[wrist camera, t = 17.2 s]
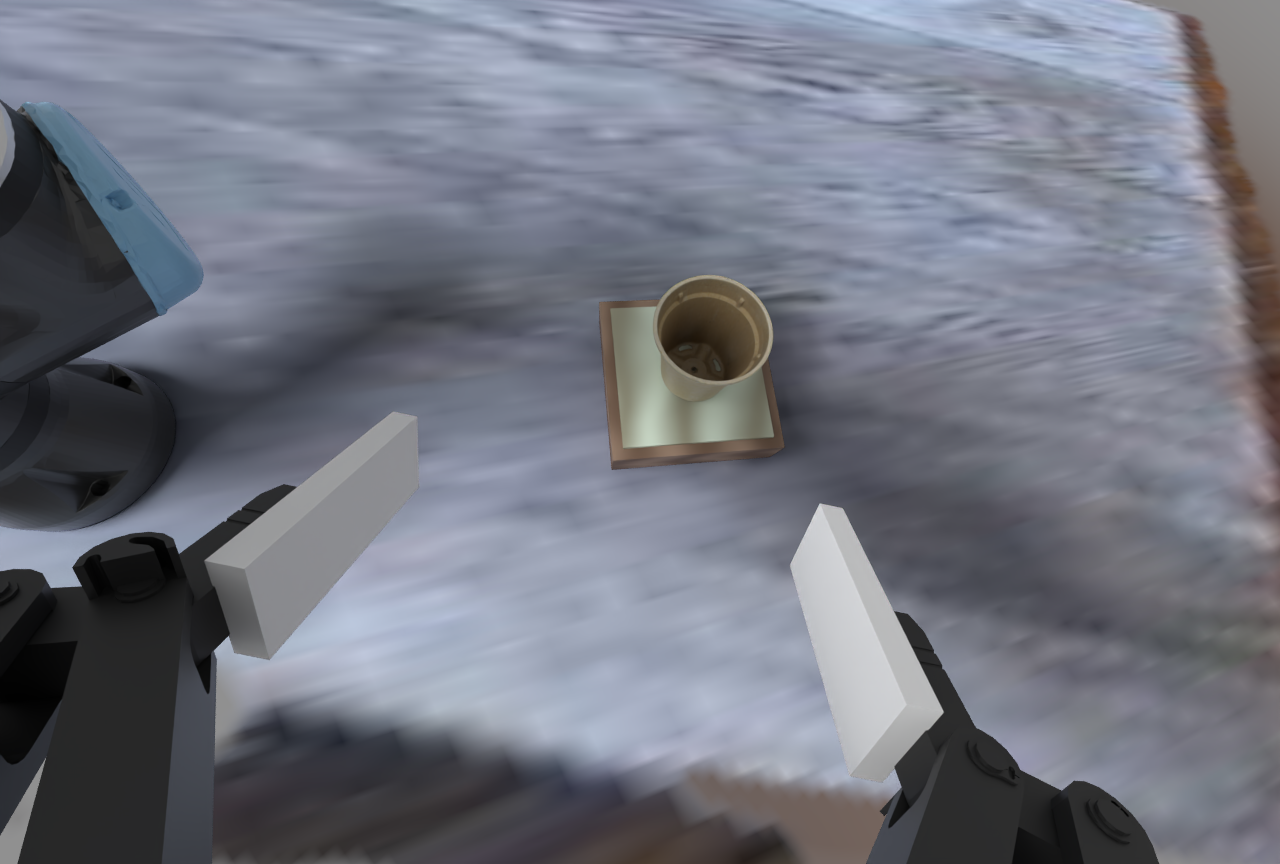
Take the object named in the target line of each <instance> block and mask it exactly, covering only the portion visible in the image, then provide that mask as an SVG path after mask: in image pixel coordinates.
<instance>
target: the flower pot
mask: <svg viewBox="0 0 1280 864" xmlns="http://www.w3.org/2000/svg"><path fill="white" fill-rule="evenodd" d="M653 335H654V339H655V343H656V346H657V348H658V350H659V352H660V354H661V375H662V379H663V381H664V383H665V385H666V387H667V388H668V389H669V390H670V391H671V392H672V393H673V394H675V395H677V396H678V397H680V398H682V399H684V400H687V401H692V402H698V401H704V400H707V399H710V398H712V397H713V396H715V395H716V394H717V393H718V392H719V391H721V390H722V389H723V388H724V387H726V386H727V385H732V384H735V383H739V382H741V381H743V380H745V379H747V378H749V377H750V376H752V375H753V374H754V373H756V372H757V371H758V370H759V369H760V368H761V367H762V365H763V364H764V363H765V361H766V360H767V358H768V356H769V354H770V351H771V348H772V343H773V329H772V323H771V319H770V316H769V314H768V312H767V310H766V308H765V306H764V305H763V303H762V302H761V300H760V299H759V298H758V297H757V296H756V295H755V294H754V293H753V292H752V291H751V290H749V289H748V288H747V287H745V286H744V285H743V284H741V283H739V282H737V281H734V280H732V279H729V278H726V277H723V276H716V275H702V276H695V277H692V278H688V279H686V280H683V281H681V282H679V283H677V284H676V285H674V286H673V287H672V288H670V289H669V290H668V291H667V292H666V293H665V294H664V295H663V297H662V298H661V300H660V301H659V303H658V305H657V307H656V310H655V313H654V318H653ZM685 345H689V346H691V348H688V349H684V350H681V351H680V350H679V348H680V347H682V346H685ZM714 359H716V361H717V362H718V364H719V366H720V369H721V370H720V371H717V370H716V366H715V363H714V361H713V360H714ZM693 367H694V368H696V371H693V370H692V368H693Z"/></svg>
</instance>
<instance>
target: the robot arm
mask: <svg viewBox="0 0 1280 864" xmlns="http://www.w3.org/2000/svg"><path fill="white" fill-rule="evenodd" d="M203 275H204V274H203V269H202V266H201V264H200V262H199V260H198V259H197V257H196V255H195V254H194V252H193V251H192V250H191V248H190V247H189V245H188V244H187V243H186V241H185V240H184V239H183V237H182V236H181V235H180V233H179V232H178V231H177V230H176V228H175V227H174V226H173V225H172V223H171V222H170V221H169V220H168V219H167V217H166V216H165V215H164V214H163V212H162V211H161V210H160V209H159V208H158V206H157V205H156V204H155V203H154V202H153V201H152V199H151V198H150V197H149V196H148V195H147V194H146V192H145V191H144V190H143V189H142V188H141V187H140V185H139V184H138V183H137V182H136V181H135V180H134V179H133V178H132V176H131V175H130V174H129V173H128V172H127V171H126V170H125V169H124V168H123V166H122V165H121V164H120V163H119V162H118V161H117V160H116V159H115V158H114V157H113V155H112V154H111V153H110V152H109V151H108V150H107V149H106V148H105V147H104V146H103V145H102V144H101V143H100V142H99V141H98V140H97V139H96V138H95V137H94V136H93V135H92V134H91V133H90V132H89V131H88V130H87V129H86V128H85V127H84V126H83V125H82V124H81V123H80V122H79V121H78V120H77V119H76V118H75V117H73V116H72V115H71V114H70V113H68V112H67V111H65V110H64V109H62V108H61V107H60V106H58V105H56V104H53V103H51V102H40V103H36V104H34V103H30V102H25V103H24V104H22V106H21V107H20V108H19V109H18V110H17V111H15V110H13V109H12V108H11V107H9V106H8V105H7V104H5V103H4V102H3V101H1V100H0V526H2V527H7V528H12V529H21V530H35V531H67V530H73V529H78V528H83V527H86V526H89V525H93V524H95V523H98V522H100V521H103V520H105V519H107V518H109V517H111V516H113V515H115V514H117V513H118V512H120V511H122V510H123V509H125V508H126V507H128V506H129V505H130V504H132V503H133V502H134V501H135V500H137V499H138V498H139V497H140V496H141V495H142V494H143V493H144V492H145V491H146V490H147V489H148V488H149V487H150V486H151V485H152V484H153V482H154V481H155V480H156V479H157V477H158V476H159V474H160V473H161V471H162V470H163V468H164V466H165V464H166V463H167V460H168V458H169V456H170V453H171V451H172V447H173V443H174V438H175V417H174V412H173V409H172V406H171V404H170V402H169V400H168V398H167V396H166V395H165V394H164V392H163V391H162V390H161V389H160V388H159V387H158V386H157V385H156V384H155V383H154V382H152V381H151V380H149V379H148V378H146V377H144V376H142V375H140V374H138V373H135V372H133V371H131V370H128V369H126V368H124V367H121V366H119V365H116V364H113V363H110V362H106V361H102V360H96V359H89V358H81V357H80V356H82V355H84V354H86V353H88V352H90V351H91V350H93V349H95V348H97V347H99V346H101V345H103V344H105V343H107V342H109V341H111V340H113V339H115V338H117V337H119V336H121V335H123V334H125V333H127V332H128V331H130V330H132V329H134V328H136V327H138V326H140V325H142V324H144V323H146V322H148V321H150V320H152V319H154V318H156V317H158V316H162V315H164V314H166V312H167V309H169V308H170V307H172V306H174V305H175V304H177V303H178V302H180V301H182V300H183V299H185V298H186V297H188V296H190V295H191V294H193V293H194V292H196V291H197V290H198V288H199V287H200V285H201V284H202V280H203ZM418 488H419V464H418V429H417V416H412V415H407V414H403V413H398V412H394V411H393V412H392V413H390V414H389V415H388V416H387V417H385V418H384V419H383V420H382V421H380V422H379V423H378V424H377V425H375V426H374V427H373V428H371V429H370V430H369V431H368V432H366V433H365V434H364V435H363V436H361V437H360V438H359V439H358V440H356V441H355V442H354V443H352V444H351V445H350V446H349V447H347V448H346V449H345V450H344V451H342V452H341V453H340V454H339V455H337V456H336V457H335V458H334V459H332V460H331V461H330V462H328V463H327V464H326V465H325V466H323V467H322V468H321V469H320V470H318V471H317V472H316V473H315V474H313V475H312V476H311V477H309V478H308V479H307V480H306V481H304V482H303V483H302V484H301V485H299V486H298V487H295V486H290V485H285V484H283V485H281V486H279V487H276V488H274V489H271V490H269V491H267V492H264V493H262V494H260V495H258V496H257V497H256V498H254V499H253V500H252V501H250V502H249V503H248V504H246V505H245V506H244V507H242V510H241V511H240V510H238V511H237V512H235V513H234V514H233V515H231V516H230V517H229V518H227V521H226V522H224V521H223V522H222V523H221V524H219V525H218V526H216V527H215V528H214V529H212V530H211V531H210V532H208V533H207V534H206V535H204V536H203V537H202V538H200V539H199V540H198V541H196V542H195V543H193V544H192V545H191V546H189V547H188V548H187V549H185V550H184V551H183V552H181V553H180V554H179V553H178V551H177V548H176V545H175V542H174V539H173V538H171V537H169V536H167V535H166V534H163V533H154V532H144V533H134V534H128V535H125V536H121V537H117V538H114V539H111V540H108V541H106V542H104V543H102V544H100V545H97V546H95V547H93V548H92V549H90V550H89V551H88V552H86V553H85V554H83V555H82V556H81V557H79V559H78V560H77V562H76V563H75V565H74V566H73V567H72V568H73V570H74V572H75V574H76V576H77V578H78V580H79V582H80V583H81V585H82V587H64V588H50V586H49V584H48V582H47V581H46V579H45V577H44V575H43V574H42V573H40V572H37V571H34V570H31V569H12V570H6V571H0V835H1V833H2V831H3V830H4V828H5V826H6V824H7V823H8V821H9V819H10V818H11V816H12V814H13V813H14V811H15V809H16V807H17V806H18V804H19V802H20V801H21V799H22V797H23V796H24V794H25V792H26V790H27V789H28V787H29V785H30V784H31V782H32V780H33V778H34V777H35V775H36V773H37V772H38V770H39V768H40V766H41V765H42V763H43V761H44V760H45V758H46V761H45V764H44V768H43V772H42V775H41V779H40V783H39V786H38V790H37V794H36V797H35V801H34V805H33V808H32V812H31V816H30V820H29V823H28V827H27V831H26V834H25V838H24V842H23V846H22V849H21V853H20V857H19V860H18V864H212V836H213V793H214V751H215V706H216V665H217V659H216V656H215V653H214V650H215V649H216V648H217V647H218V646H219V645H220V644H221V643H222V642H223V641H224V640H225V639H226V638H227V637H228V636H229V638H230V641H231V644H232V647H233V650H234V653H237V654H242V655H247V656H252V657H257V658H262V659H267V660H270V659H271V658H272V657H273V655H274V654H275V653H276V652H277V651H278V650H279V648H280V647H281V646H282V645H283V644H284V643H285V641H286V640H287V639H288V638H289V637H290V636H291V635H292V633H293V632H294V631H295V630H296V629H297V628H298V626H299V625H300V624H301V623H302V622H303V621H304V620H305V618H306V617H307V616H308V615H309V614H310V613H311V611H312V610H313V609H314V608H315V607H316V606H317V604H318V603H319V602H320V601H321V600H322V599H323V598H324V596H325V595H326V594H327V593H328V592H329V591H330V589H331V588H332V587H333V586H334V585H335V584H336V582H337V581H338V580H339V579H340V578H341V577H342V576H343V574H344V573H345V572H346V571H347V570H348V569H349V567H350V566H351V565H352V564H353V563H354V562H355V561H356V559H357V558H358V557H359V556H360V555H361V554H362V552H363V551H364V550H365V549H366V548H367V547H368V545H369V544H370V543H371V542H372V541H373V540H374V539H375V537H376V536H377V535H378V534H379V533H380V532H381V530H382V529H383V528H384V527H385V526H386V525H387V523H388V522H389V521H390V520H391V519H392V518H393V517H394V515H395V514H396V513H397V512H398V511H399V510H400V508H401V507H402V506H403V505H404V504H405V503H406V502H407V500H408V499H409V498H410V497H411V496H412V495H413V493H414V492H415V491H416V490H417V489H418ZM790 567H791V571H792V574H793V578H794V581H795V585H796V589H797V592H798V596H799V599H800V603H801V606H802V610H803V613H804V617H805V620H806V624H807V627H808V631H809V634H810V638H811V641H812V645H813V649H814V652H815V656H816V659H817V663H818V666H819V670H820V673H821V677H822V680H823V684H824V687H825V691H826V694H827V698H828V701H829V705H830V709H831V712H832V716H833V719H834V723H835V726H836V730H837V733H838V737H839V740H840V744H841V747H842V751H843V754H844V758H845V761H846V765H847V769H848V772H849V776H851V777H856V778H861V779H866V780H871V781H876V782H881V783H883V781H884V780H885V779H886V778H887V777H888V776H889V775H890V773H891V772H892V771H893V770H894V769H895V770H896V773H897V775H898V778H899V781H900V784H901V786H902V788H901V789H900V790H899V791H898V792H897V793H896V794H895V795H894V796H893V797H892V799H891V800H890V801H889V802H888V803H887V804H886V805H885V806H884V807H883V808H882V810H881V811H880V812H881V813H882V814H883V815H884V816H885V815H886V814H887V815H886V818H885V820H884V822H883V825H882V827H881V829H880V832H879V834H878V837H877V839H876V841H875V844H874V846H873V848H872V851H871V853H870V855H869V858H868V860H867V863H866V864H1159V862H1158V859H1157V857H1156V854H1155V851H1154V848H1153V845H1152V844H1151V842H1150V840H1149V838H1148V836H1147V834H1146V832H1145V830H1144V829H1143V827H1142V826H1141V825H1140V824H1139V822H1138V821H1137V820H1136V819H1135V817H1134V816H1133V815H1132V814H1131V813H1130V812H1129V811H1128V810H1127V809H1126V808H1125V807H1124V806H1123V805H1122V804H1121V803H1120V802H1118V801H1117V800H1116V799H1115V798H1114V797H1112V796H1111V795H1109V794H1108V793H1106V792H1105V791H1104V790H1102V789H1101V788H1099V787H1097V786H1094V785H1092V784H1090V783H1087V782H1085V781H1073V782H1072V783H1071V784H1070V785H1068V786H1067V787H1066V788H1065V789H1063V790H1062V791H1061V790H1059V789H1057V788H1055V787H1053V786H1051V785H1049V784H1047V783H1045V782H1043V781H1041V780H1039V779H1037V778H1035V777H1033V776H1031V775H1029V774H1027V773H1025V772H1023V771H1021V770H1020V769H1019V767H1018V764H1017V763H1016V761H1015V760H1014V759H1013V758H1012V756H1011V755H1010V754H1009V752H1008V751H1007V750H1006V749H1005V748H1004V747H1003V746H1002V745H1001V744H1000V743H998V742H997V741H996V740H995V739H994V738H993V737H991V736H989V735H988V734H986V733H984V732H983V731H981V730H979V729H976V727H975V725H974V724H973V722H972V720H971V718H970V716H969V714H968V712H967V711H966V709H965V707H964V705H963V703H962V701H961V699H960V698H959V696H958V694H957V692H956V690H955V688H954V687H953V685H952V683H951V681H950V679H949V677H948V675H947V674H946V672H945V670H943V669H942V664H941V662H940V661H939V659H938V657H937V655H936V654H934V649H933V648H932V646H931V644H930V642H929V640H928V638H927V637H926V635H925V633H924V631H923V630H922V629H921V628H920V627H919V626H918V625H917V624H916V623H915V621H914V620H913V619H912V618H911V617H910V616H909V615H908V614H905V613H900V612H895V611H893V609H892V607H891V605H890V603H889V601H888V599H887V597H886V594H885V592H884V590H883V588H882V586H881V584H880V582H879V580H878V578H877V576H876V574H875V572H874V570H873V568H872V566H871V564H870V562H869V560H868V558H867V556H866V554H865V552H864V550H863V548H862V546H861V544H860V542H859V540H858V538H857V536H856V534H855V532H854V530H853V528H852V526H851V524H850V522H849V520H848V518H847V516H846V514H845V512H844V510H843V508H839V507H835V506H830V505H825V504H821V503H820V504H819V506H818V508H817V510H816V512H815V514H814V516H813V519H812V521H811V523H810V525H809V527H808V529H807V531H806V533H805V535H804V537H803V539H802V541H801V543H800V545H799V548H798V550H797V552H796V554H795V556H794V558H793V560H792V562H791V564H790ZM46 756H47V757H46Z"/></svg>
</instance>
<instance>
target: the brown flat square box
mask: <svg viewBox="0 0 1280 864" xmlns="http://www.w3.org/2000/svg"><path fill="white" fill-rule="evenodd" d="M659 301H660V300H637V301H613V302H599V325H600V336H601V348H602V360H603V372H604V384H605V396H606V408H607V420H608V432H609V444H610V456H611V468H612V470H614V469H626V468H639V467H651V466H664V465H676V464H689V463H701V462H714V461H726V460H739V459H751V458H764V457H771V456H772V455H774V454H775V453H777V452H778V451H780V450H781V449H783V448H784V447H785V446H784V440H783V435H782V430H781V424H780V419H779V414H778V408H777V403H776V398H775V392H774V387H773V382H772V376H771V371H770V366H769V360H768V358H767V360H766V361H765V363H764V364H763V365H762V367H761V368H760V369H759V370H758V371H757V372H756V373H754V374H753V375H752V376H750V377H749V378H747V379H745V380H743V381H741V382H739V383H735V384H732V385H727V386H726V387H724V388H723V389H722V390H721V391H719V392H718V393H717V394H716V395H715V396H713V397H712V398H710V399H707V400H704V401H698V402H692V401H687V400H684V399H682V398H680V397H678V396H677V395H675V394H673V393H672V392H671V391H670V390H669V389H668V388H667V387H666V385H665V383H664V381H663V379H662V375H661V354H660V352H659V350H658V348H657V346H656V343H655V339H654V335H653V318H654V313H655V310H656V307H657V305H658V303H659ZM688 348H691V346H689V345H685V346H682V347H680V348H679V350H680V351H681V350H684V349H688ZM713 361H714V363H715V366H716V370H717V371H720V370H721V369H720V366H719V364H718V362H717V361H716V359H714V360H713ZM692 370H693V371H696V368H694V367H693V368H692Z"/></svg>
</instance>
